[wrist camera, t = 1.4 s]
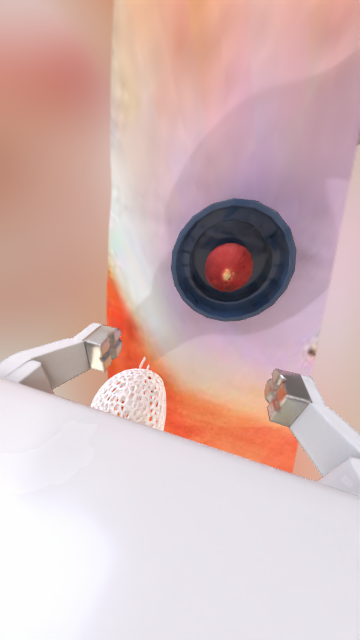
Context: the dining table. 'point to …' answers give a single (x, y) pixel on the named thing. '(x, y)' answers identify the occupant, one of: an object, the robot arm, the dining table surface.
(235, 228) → the bowl
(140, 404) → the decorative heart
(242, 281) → the onion
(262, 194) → the dining table surface
